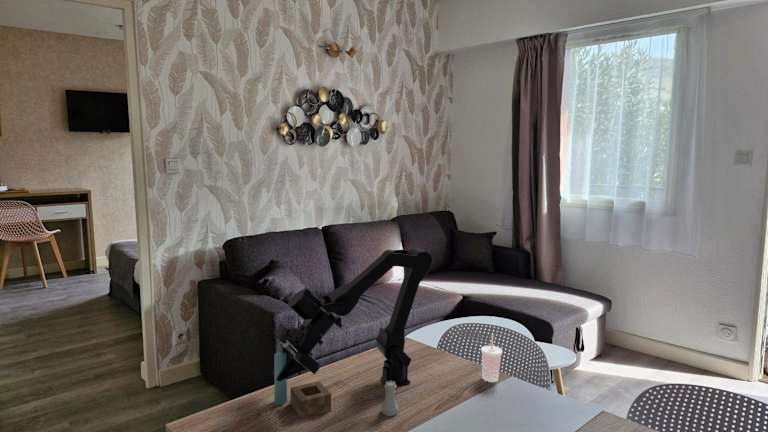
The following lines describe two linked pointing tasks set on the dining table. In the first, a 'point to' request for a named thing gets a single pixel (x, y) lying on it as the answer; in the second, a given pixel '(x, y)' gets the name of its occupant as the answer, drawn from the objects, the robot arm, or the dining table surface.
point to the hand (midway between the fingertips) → (275, 377)
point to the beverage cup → (491, 362)
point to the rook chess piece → (390, 400)
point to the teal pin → (280, 386)
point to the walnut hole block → (310, 399)
